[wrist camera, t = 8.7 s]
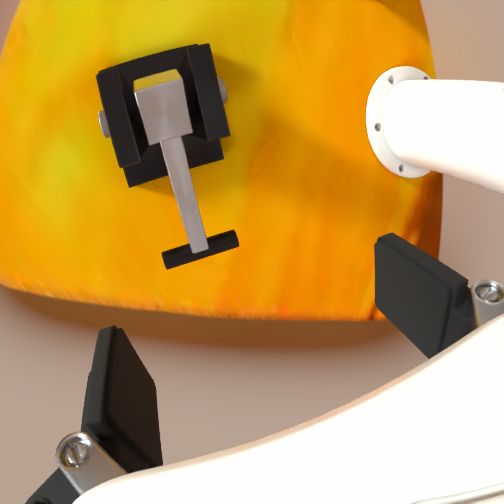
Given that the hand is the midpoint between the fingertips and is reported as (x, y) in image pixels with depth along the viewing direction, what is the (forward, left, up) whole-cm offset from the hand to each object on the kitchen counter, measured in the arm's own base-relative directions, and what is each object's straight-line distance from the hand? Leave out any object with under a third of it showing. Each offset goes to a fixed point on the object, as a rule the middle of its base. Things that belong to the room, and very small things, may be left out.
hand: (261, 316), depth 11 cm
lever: (+1, -4, -10) cm, 11 cm away
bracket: (+1, -8, -18) cm, 20 cm away
